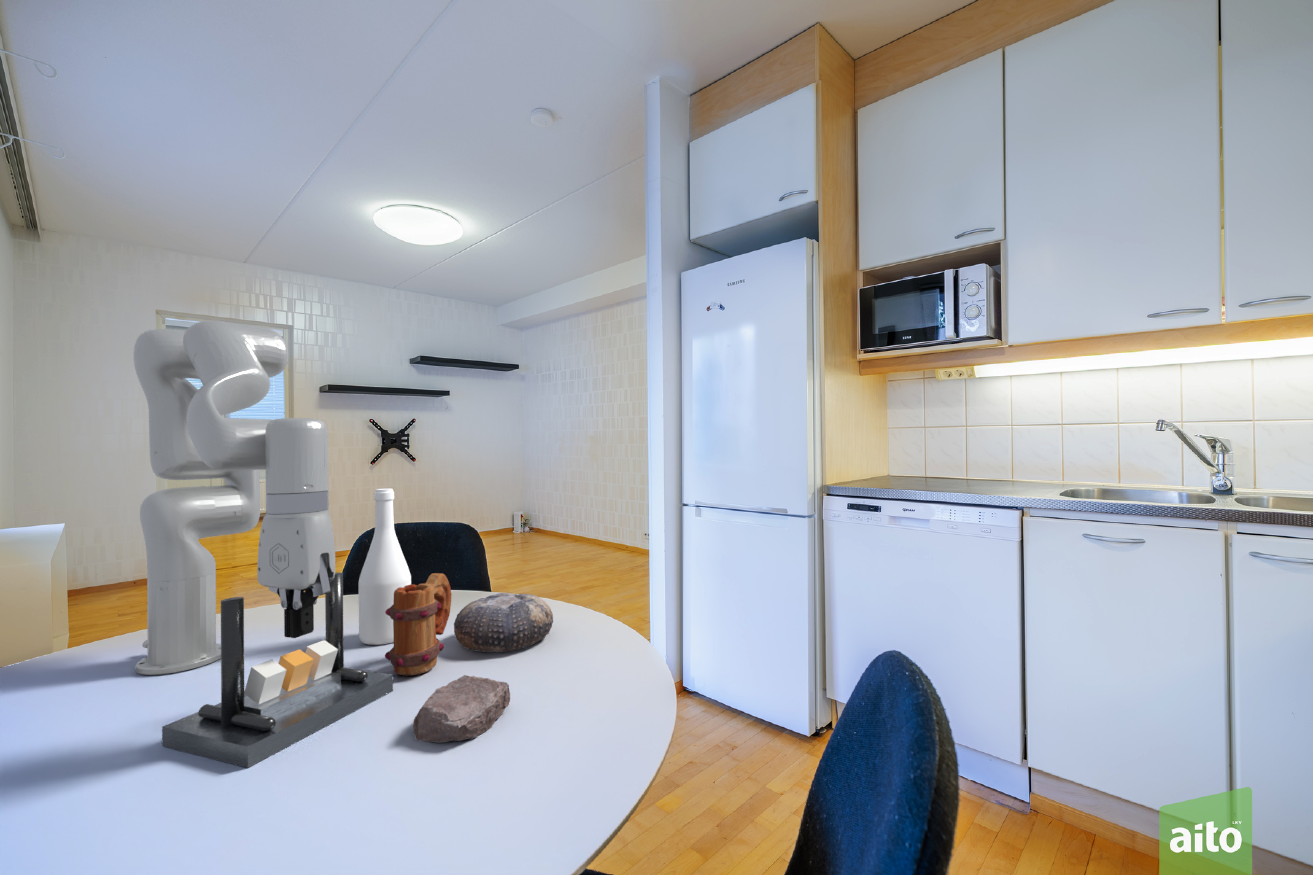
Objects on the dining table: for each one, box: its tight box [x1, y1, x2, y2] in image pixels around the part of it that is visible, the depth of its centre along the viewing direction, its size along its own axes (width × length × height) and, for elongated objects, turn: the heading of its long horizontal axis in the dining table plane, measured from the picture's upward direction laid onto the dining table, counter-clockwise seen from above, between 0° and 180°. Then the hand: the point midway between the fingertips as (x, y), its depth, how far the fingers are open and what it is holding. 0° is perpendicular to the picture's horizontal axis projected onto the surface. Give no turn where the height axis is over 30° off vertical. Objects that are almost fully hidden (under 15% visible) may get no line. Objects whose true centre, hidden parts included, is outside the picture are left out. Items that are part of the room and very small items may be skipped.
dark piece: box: [161, 572, 394, 769], centre depth 79 cm, size 16×22×18 cm
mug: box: [384, 572, 453, 677], centre depth 97 cm, size 15×8×15 cm, turn 168°
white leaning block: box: [304, 639, 338, 680], centre depth 83 cm, size 3×3×4 cm
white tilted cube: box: [244, 659, 286, 705], centre depth 75 cm, size 3×3×4 cm
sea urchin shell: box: [453, 592, 554, 653], centre depth 109 cm, size 19×19×10 cm
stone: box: [412, 674, 511, 744], centre depth 76 cm, size 12×9×5 cm
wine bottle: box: [358, 488, 412, 646], centre depth 112 cm, size 10×10×30 cm
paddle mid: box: [278, 649, 313, 692], centre depth 79 cm, size 3×3×4 cm
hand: (299, 634), depth 79 cm, fingers closed
